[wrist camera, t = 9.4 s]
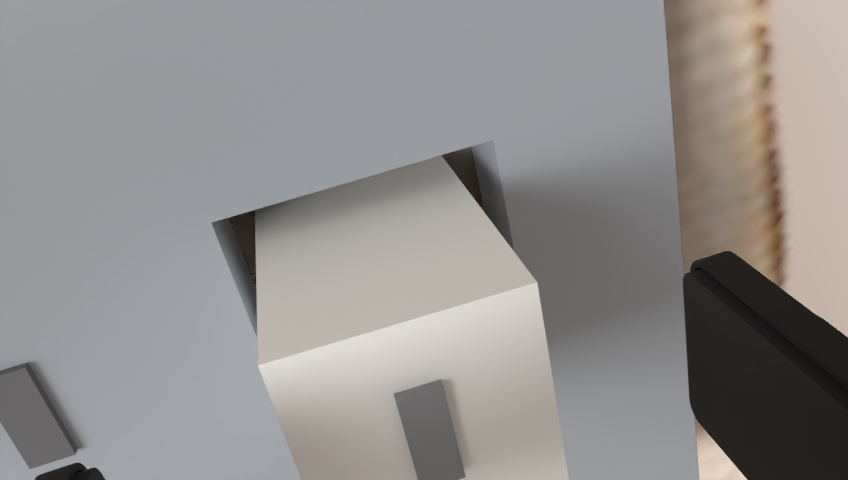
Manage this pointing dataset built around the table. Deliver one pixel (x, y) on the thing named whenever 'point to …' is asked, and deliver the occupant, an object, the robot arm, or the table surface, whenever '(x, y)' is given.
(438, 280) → the charger block
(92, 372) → the grey peg hole board
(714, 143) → the table surface
